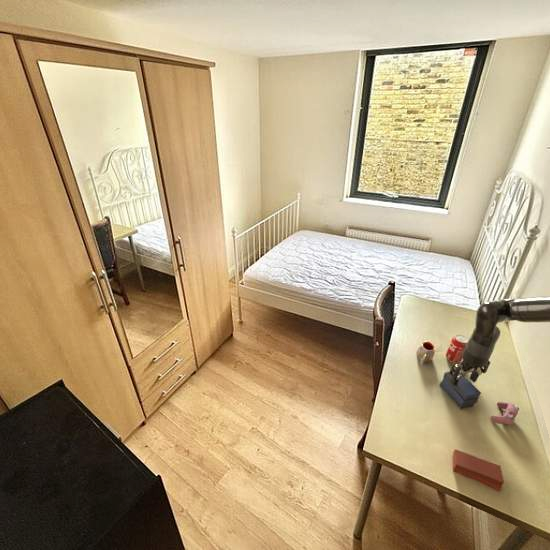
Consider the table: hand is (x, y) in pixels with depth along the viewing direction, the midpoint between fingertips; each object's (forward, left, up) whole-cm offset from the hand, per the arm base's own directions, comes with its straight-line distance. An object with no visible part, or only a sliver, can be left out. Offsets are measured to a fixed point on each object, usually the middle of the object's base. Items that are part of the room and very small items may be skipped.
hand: (462, 382), depth 109 cm
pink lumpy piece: (-14, -5, -8) cm, 17 cm away
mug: (+18, -6, -8) cm, 21 cm away
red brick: (-18, +23, -8) cm, 30 cm away
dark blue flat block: (0, 0, -3) cm, 3 cm away
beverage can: (+11, -18, -8) cm, 23 cm away
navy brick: (0, 0, -8) cm, 8 cm away
